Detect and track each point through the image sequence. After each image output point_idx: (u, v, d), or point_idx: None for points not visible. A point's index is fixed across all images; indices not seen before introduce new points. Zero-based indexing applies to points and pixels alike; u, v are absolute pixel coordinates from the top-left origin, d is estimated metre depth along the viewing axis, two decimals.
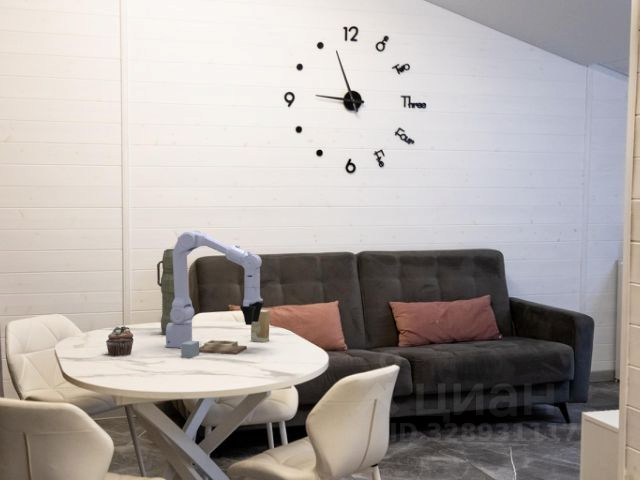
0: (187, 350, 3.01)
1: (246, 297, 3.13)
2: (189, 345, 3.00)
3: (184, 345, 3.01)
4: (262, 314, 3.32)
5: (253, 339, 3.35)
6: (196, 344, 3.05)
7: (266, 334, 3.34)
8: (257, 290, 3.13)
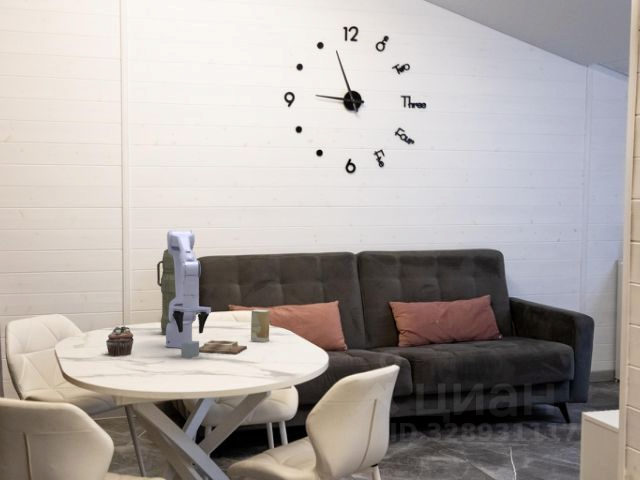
0: (187, 350, 3.01)
1: None
2: (189, 345, 3.00)
3: (184, 345, 3.01)
4: (262, 314, 3.32)
5: (253, 339, 3.35)
6: (196, 344, 3.05)
7: (266, 334, 3.34)
8: (184, 298, 3.01)
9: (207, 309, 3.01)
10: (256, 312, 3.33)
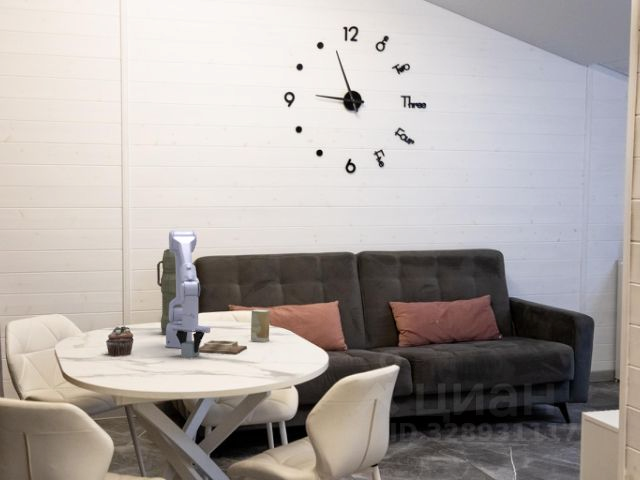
0: (187, 350, 3.01)
1: None
2: (189, 345, 3.00)
3: (184, 345, 3.01)
4: (263, 314, 3.32)
5: (253, 339, 3.35)
6: None
7: (266, 334, 3.34)
8: (183, 318, 3.01)
9: (206, 329, 3.01)
10: (256, 312, 3.33)
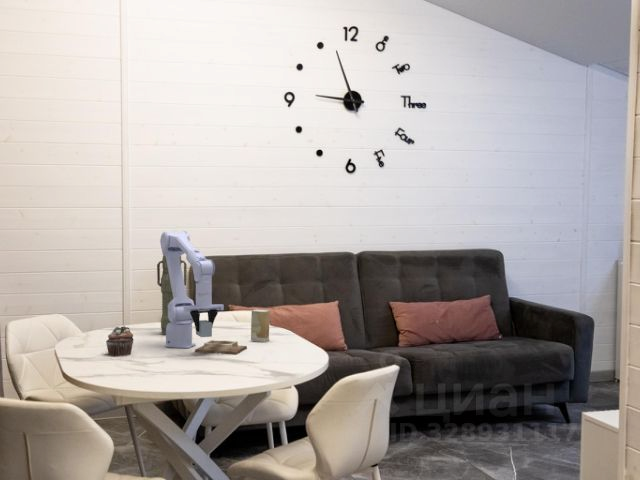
0: (207, 329, 3.05)
1: None
2: (209, 324, 3.05)
3: (204, 324, 3.05)
4: (263, 314, 3.32)
5: (253, 339, 3.35)
6: None
7: (266, 334, 3.34)
8: (201, 297, 3.05)
9: (222, 306, 3.10)
10: (256, 312, 3.33)
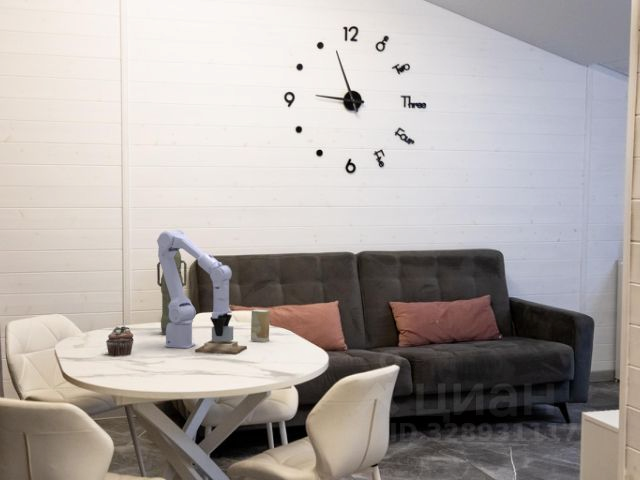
0: (231, 333, 3.14)
1: (215, 309, 3.12)
2: (232, 327, 3.15)
3: (230, 328, 3.13)
4: (263, 314, 3.32)
5: (253, 339, 3.35)
6: None
7: (266, 334, 3.34)
8: (226, 302, 3.12)
9: (229, 309, 3.21)
10: (256, 312, 3.33)
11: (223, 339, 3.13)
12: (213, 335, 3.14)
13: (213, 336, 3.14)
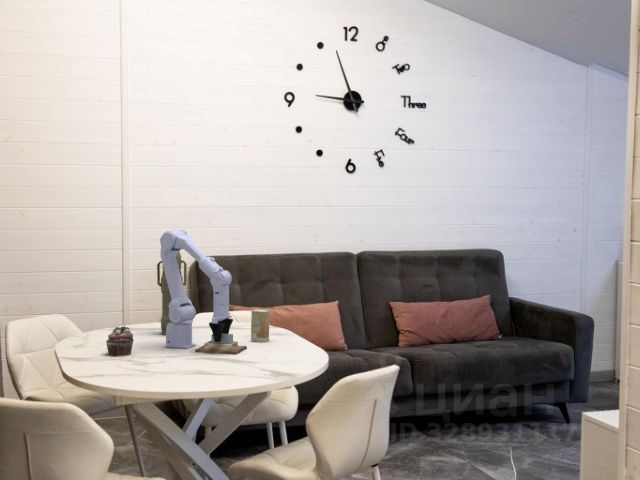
0: (231, 340, 3.14)
1: (215, 314, 3.12)
2: (232, 335, 3.15)
3: (230, 336, 3.13)
4: (263, 314, 3.32)
5: (253, 339, 3.35)
6: None
7: (266, 334, 3.34)
8: (226, 307, 3.12)
9: (229, 314, 3.21)
10: (256, 312, 3.33)
11: None
12: None
13: None
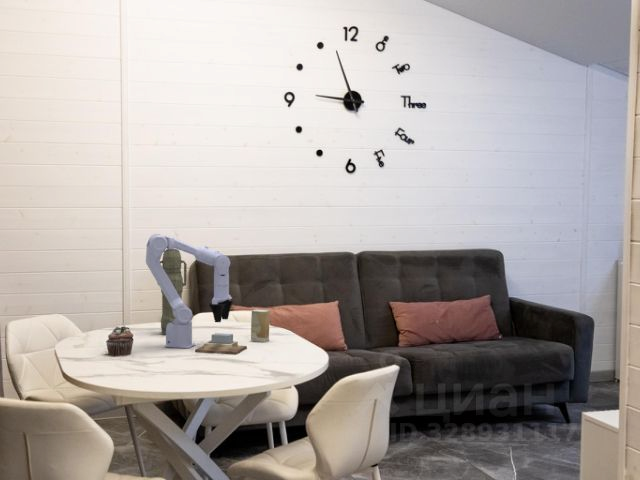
0: (231, 340, 3.14)
1: (215, 295, 3.24)
2: (232, 335, 3.15)
3: (230, 336, 3.13)
4: (262, 314, 3.32)
5: (253, 339, 3.35)
6: None
7: (266, 334, 3.34)
8: (226, 288, 3.24)
9: None
10: (256, 312, 3.33)
11: None
12: None
13: None
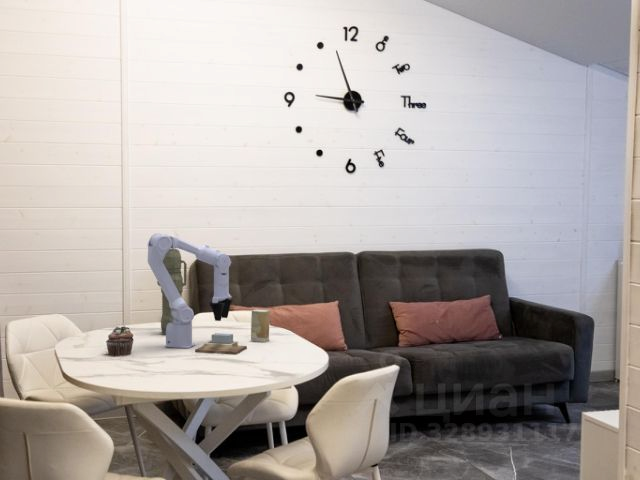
0: (231, 340, 3.14)
1: (215, 294, 3.27)
2: (232, 335, 3.15)
3: (230, 336, 3.13)
4: (262, 314, 3.32)
5: (253, 339, 3.35)
6: None
7: (266, 334, 3.34)
8: (226, 287, 3.27)
9: (229, 295, 3.35)
10: (256, 312, 3.33)
11: None
12: None
13: None
